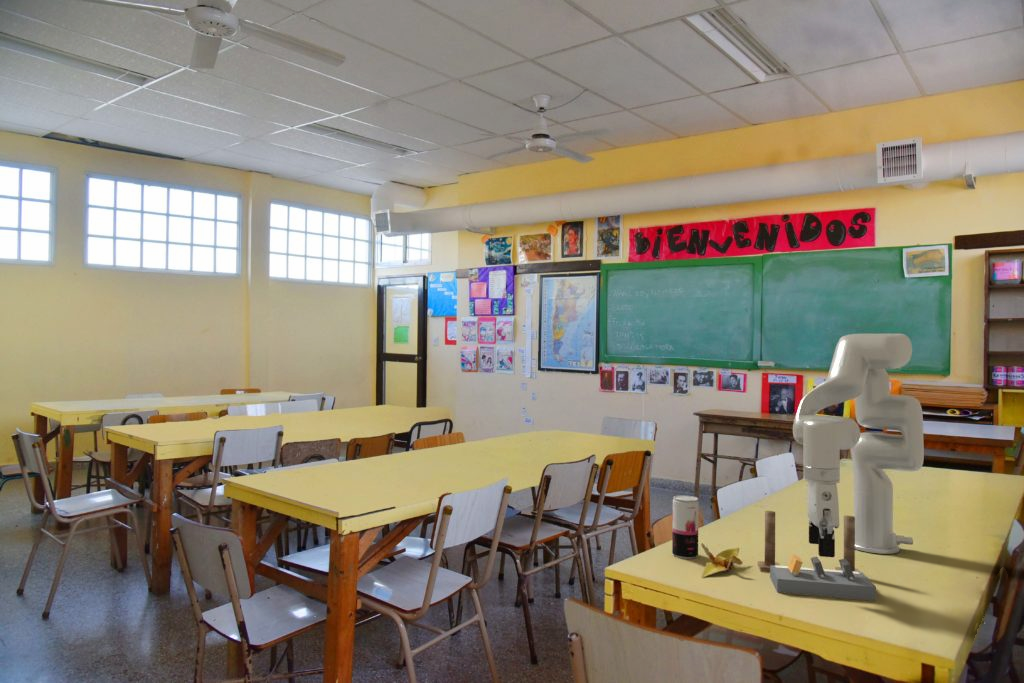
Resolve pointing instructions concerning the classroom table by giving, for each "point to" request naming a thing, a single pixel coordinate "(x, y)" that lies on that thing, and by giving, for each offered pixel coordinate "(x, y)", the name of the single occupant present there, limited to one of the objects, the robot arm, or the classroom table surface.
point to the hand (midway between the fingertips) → (821, 549)
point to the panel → (822, 583)
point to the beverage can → (685, 527)
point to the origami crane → (721, 561)
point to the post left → (769, 543)
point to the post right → (849, 542)
